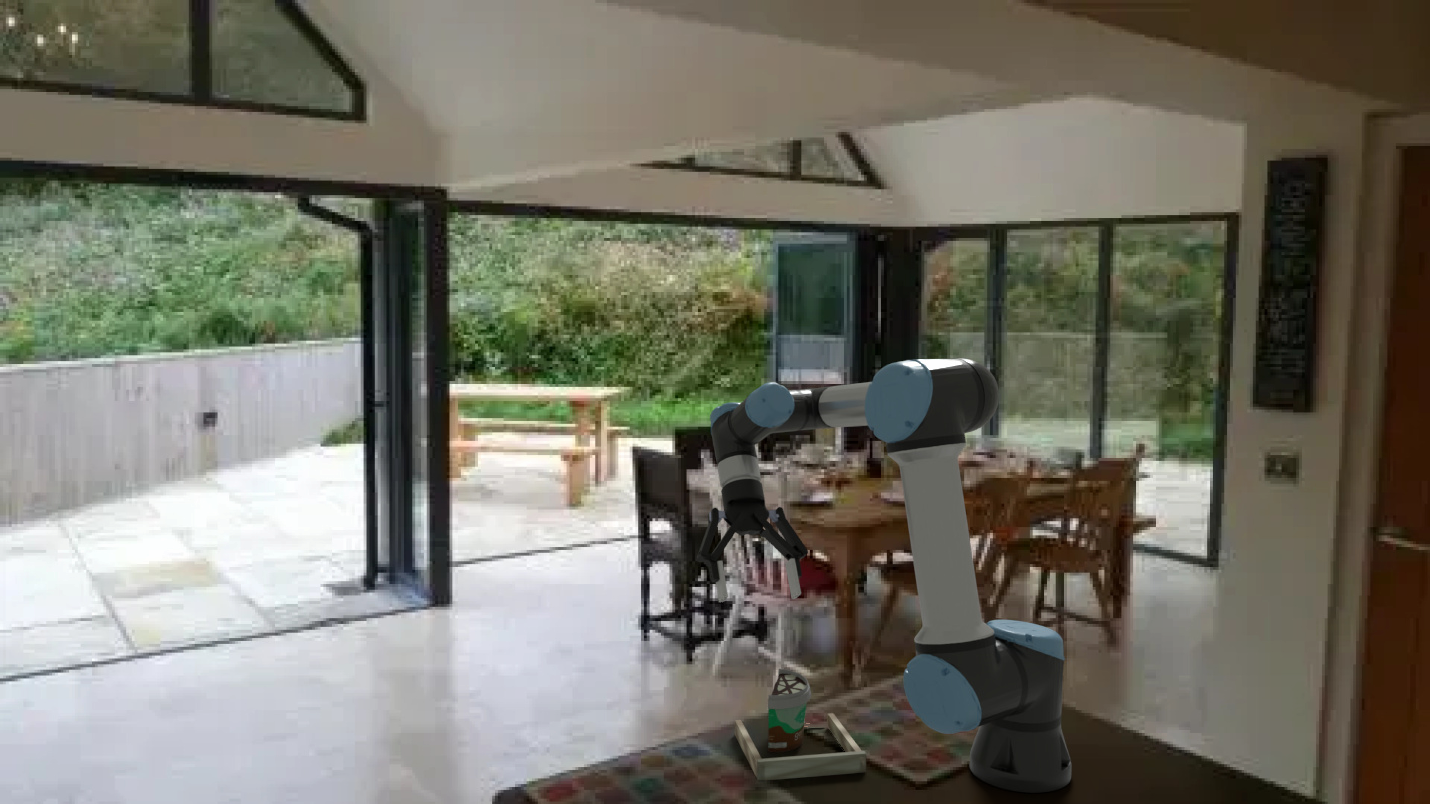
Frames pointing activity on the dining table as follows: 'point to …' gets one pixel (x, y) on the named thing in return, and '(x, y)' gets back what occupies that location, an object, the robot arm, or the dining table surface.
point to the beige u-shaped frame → (805, 757)
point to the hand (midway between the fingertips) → (760, 598)
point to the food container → (787, 711)
